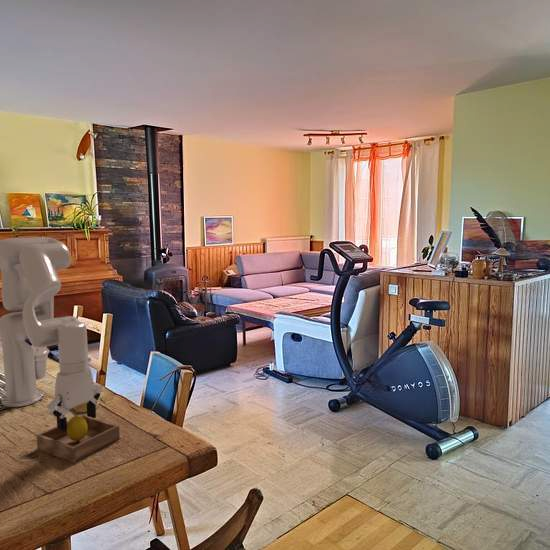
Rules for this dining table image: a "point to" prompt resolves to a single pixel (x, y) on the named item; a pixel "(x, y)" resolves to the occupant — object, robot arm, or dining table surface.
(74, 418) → the lemon
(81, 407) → the bread roll
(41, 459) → the dining table surface
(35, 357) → the cup with straw
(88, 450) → the bin
